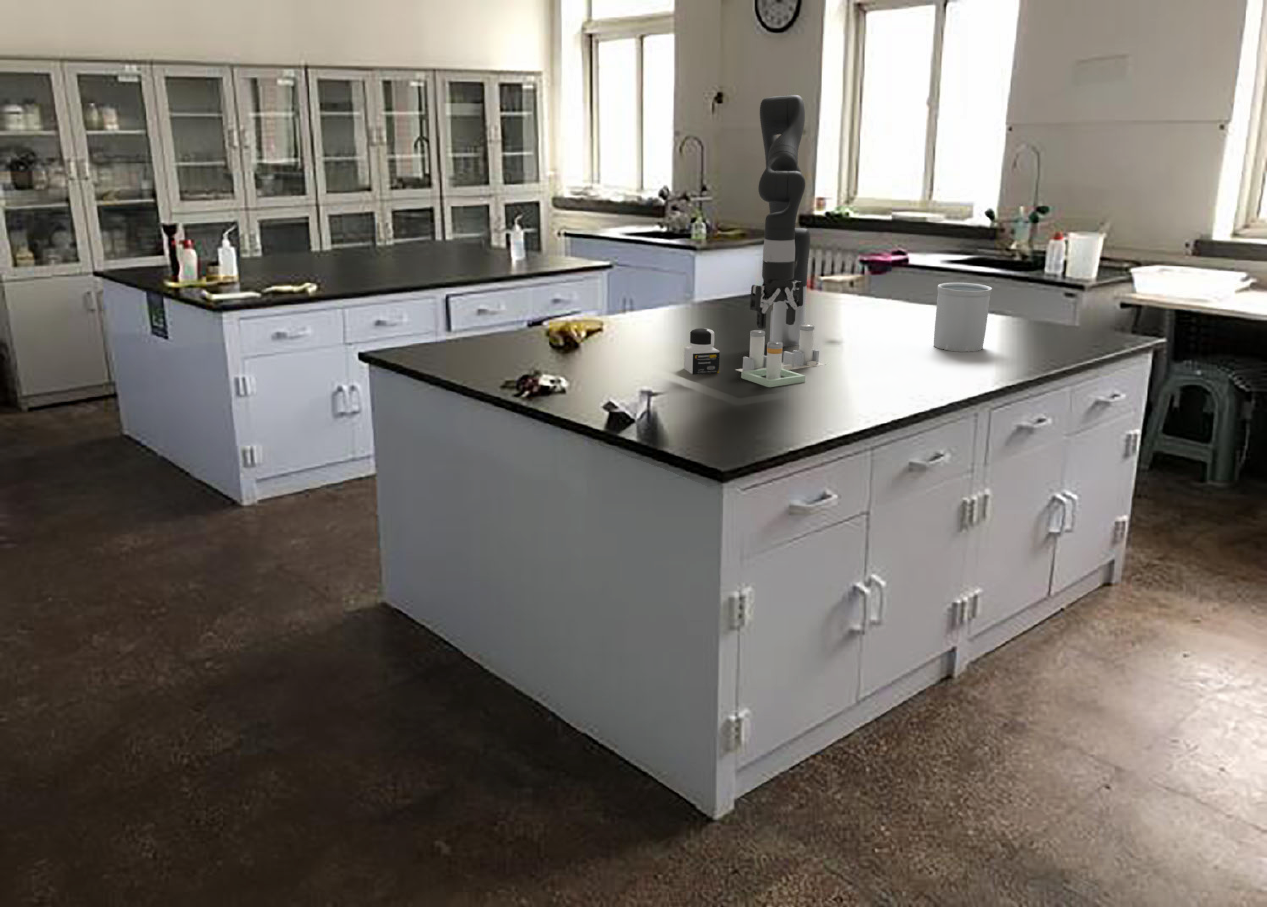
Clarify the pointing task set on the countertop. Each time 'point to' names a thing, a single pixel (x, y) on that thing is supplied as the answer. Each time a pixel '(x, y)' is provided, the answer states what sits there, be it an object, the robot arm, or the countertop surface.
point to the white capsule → (806, 342)
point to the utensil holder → (961, 316)
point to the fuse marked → (774, 360)
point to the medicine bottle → (701, 353)
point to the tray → (789, 379)
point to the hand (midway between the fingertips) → (775, 326)
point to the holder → (785, 361)
